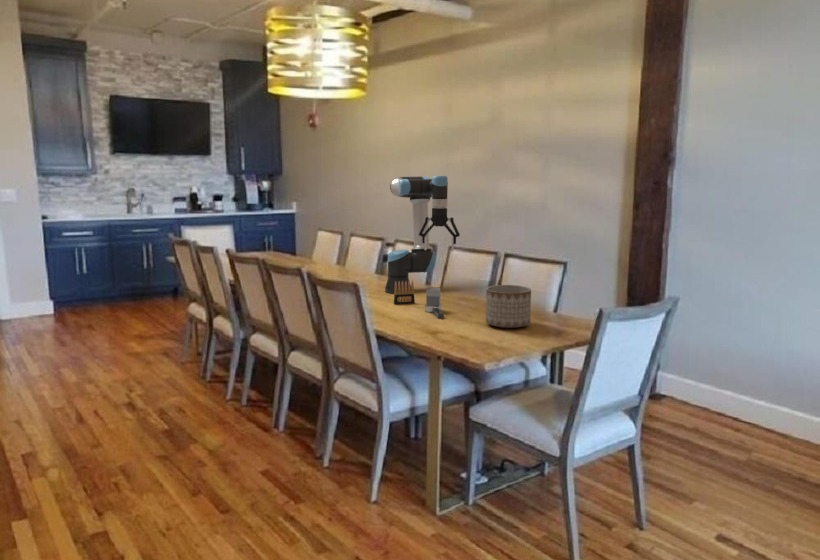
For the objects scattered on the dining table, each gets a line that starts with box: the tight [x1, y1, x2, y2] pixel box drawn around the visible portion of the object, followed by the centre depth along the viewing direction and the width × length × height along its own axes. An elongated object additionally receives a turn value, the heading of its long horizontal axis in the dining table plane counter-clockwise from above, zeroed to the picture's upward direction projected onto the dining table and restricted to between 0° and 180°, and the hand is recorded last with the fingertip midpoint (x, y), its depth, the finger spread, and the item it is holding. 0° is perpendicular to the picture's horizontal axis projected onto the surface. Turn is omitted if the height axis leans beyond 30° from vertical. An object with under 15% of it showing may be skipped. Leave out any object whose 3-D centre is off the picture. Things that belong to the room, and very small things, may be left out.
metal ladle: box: [424, 303, 445, 320], centre depth 294 cm, size 20×8×6 cm, turn 11°
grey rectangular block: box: [425, 287, 441, 307], centre depth 299 cm, size 6×6×8 cm
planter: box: [485, 284, 532, 329], centre depth 271 cm, size 19×19×16 cm
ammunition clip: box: [393, 280, 416, 306], centre depth 317 cm, size 11×2×12 cm, turn 104°
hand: (439, 250), depth 308 cm, fingers open, 13 cm apart
